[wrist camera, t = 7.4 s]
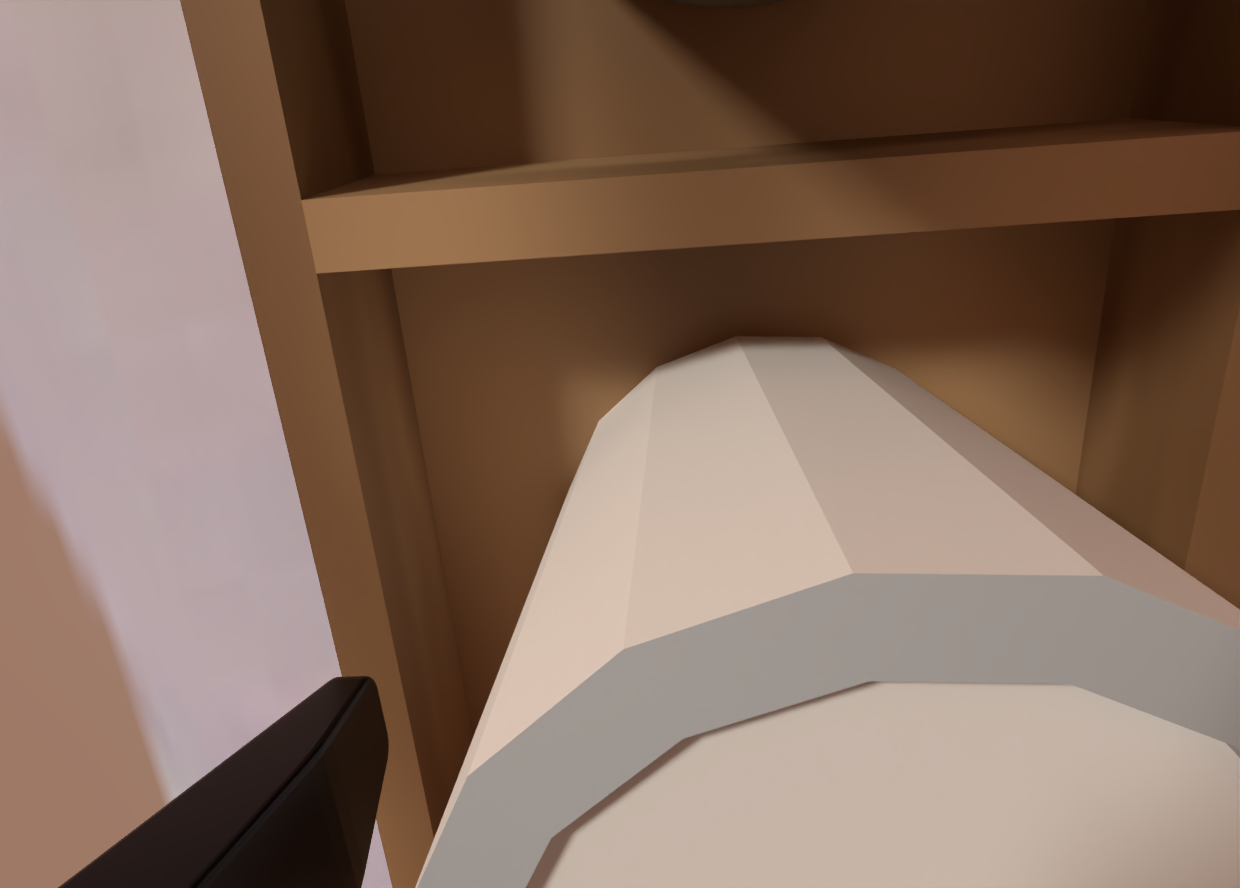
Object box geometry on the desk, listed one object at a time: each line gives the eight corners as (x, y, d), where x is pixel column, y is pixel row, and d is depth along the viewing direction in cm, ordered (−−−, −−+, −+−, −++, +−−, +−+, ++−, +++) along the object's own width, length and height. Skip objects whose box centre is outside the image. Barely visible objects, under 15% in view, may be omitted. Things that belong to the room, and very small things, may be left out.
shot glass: (1087, 586, 13) (1565, 1118, 6) (686, 781, 14) (727, 1369, 8) (868, 175, 10) (1244, 330, 4) (425, 461, 12) (177, 902, 6)
